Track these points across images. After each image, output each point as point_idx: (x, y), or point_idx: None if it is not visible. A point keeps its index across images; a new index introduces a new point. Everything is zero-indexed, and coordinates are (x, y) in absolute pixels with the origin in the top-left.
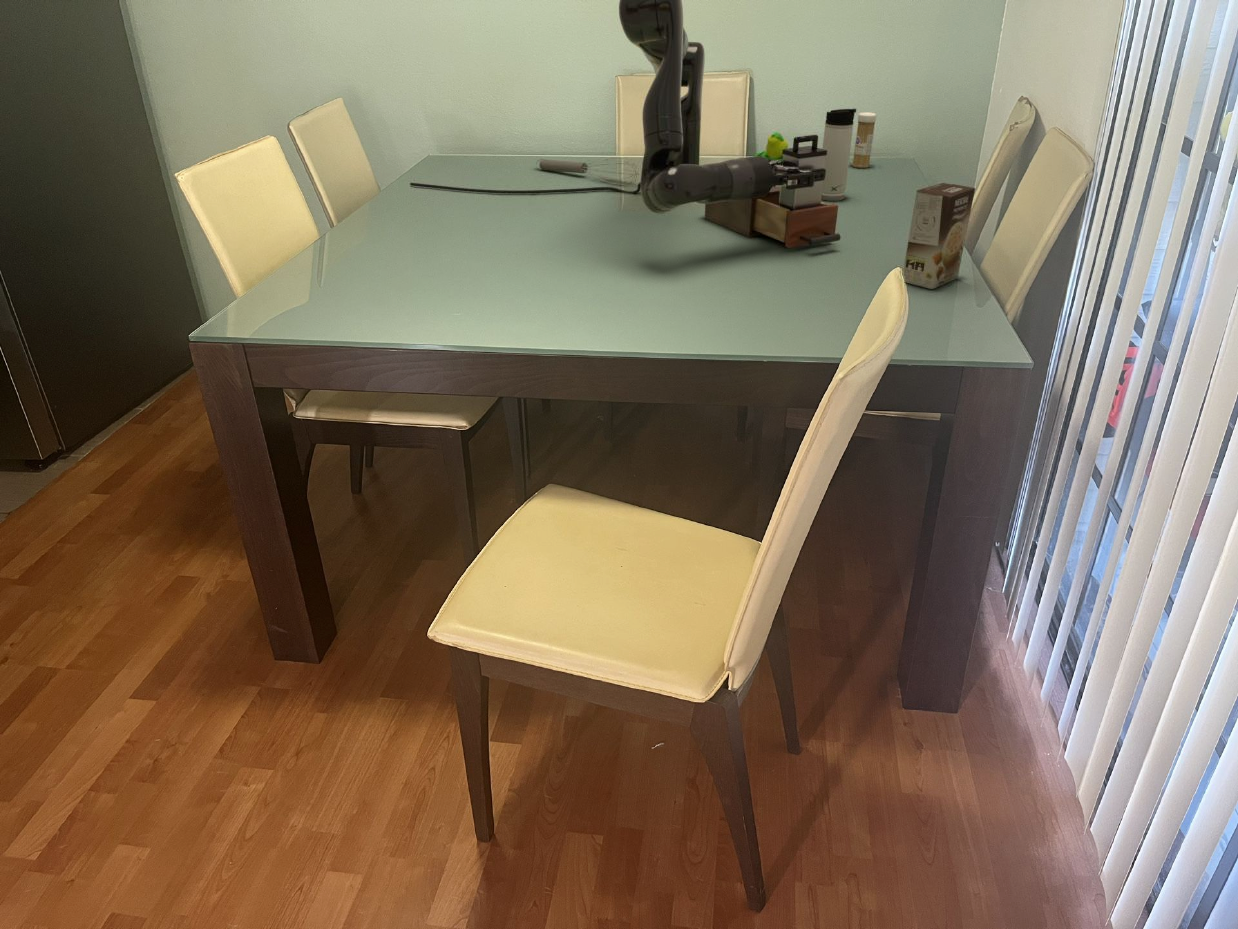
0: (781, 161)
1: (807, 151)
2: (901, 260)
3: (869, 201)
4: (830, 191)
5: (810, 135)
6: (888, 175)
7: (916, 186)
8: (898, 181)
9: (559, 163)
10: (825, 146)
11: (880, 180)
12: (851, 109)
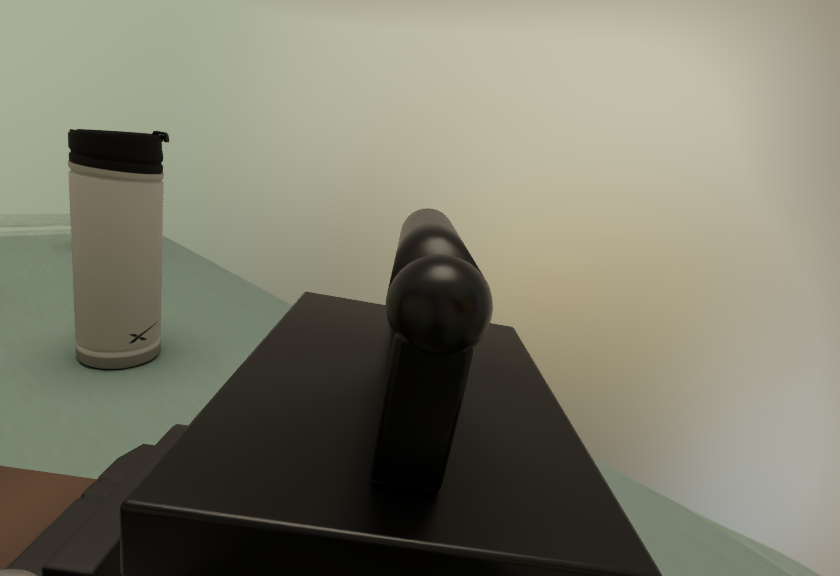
0: (51, 562)
1: (502, 407)
2: None
3: (223, 341)
4: (128, 345)
5: (441, 218)
6: (170, 263)
7: (245, 281)
8: (203, 275)
9: None
10: (88, 230)
11: (171, 276)
12: (158, 131)
